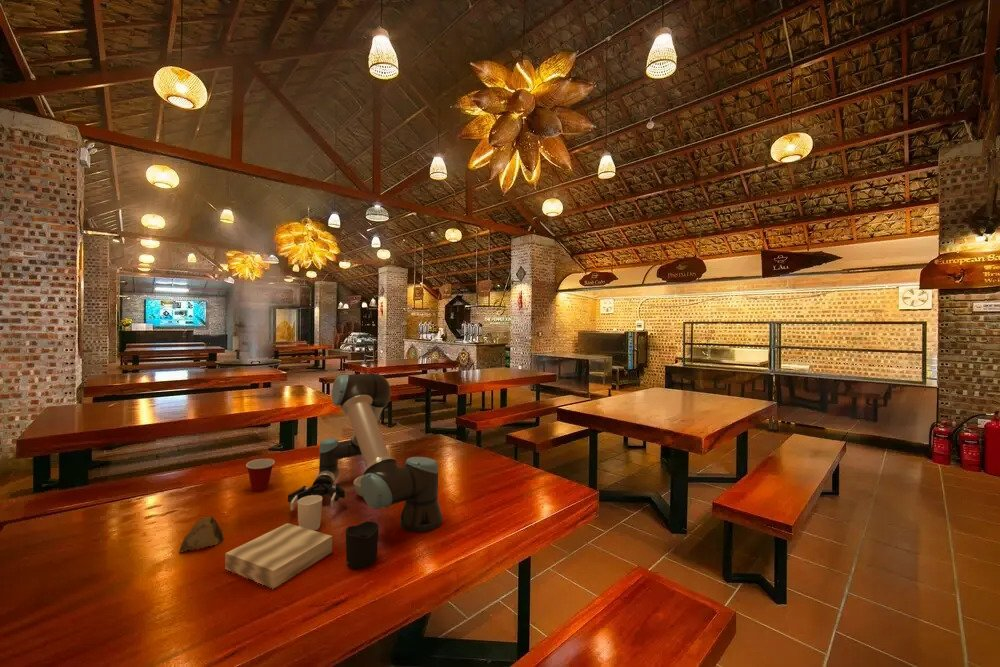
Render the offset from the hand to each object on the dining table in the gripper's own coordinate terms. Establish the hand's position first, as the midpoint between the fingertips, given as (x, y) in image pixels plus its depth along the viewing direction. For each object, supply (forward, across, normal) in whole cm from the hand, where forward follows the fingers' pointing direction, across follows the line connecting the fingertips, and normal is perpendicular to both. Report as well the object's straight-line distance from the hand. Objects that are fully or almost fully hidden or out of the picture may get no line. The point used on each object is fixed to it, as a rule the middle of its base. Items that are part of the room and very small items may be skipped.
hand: (311, 504), depth 144 cm
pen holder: (+30, -21, -6) cm, 37 cm away
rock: (+11, +30, -6) cm, 33 cm away
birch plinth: (+25, +3, -6) cm, 26 cm away
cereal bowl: (-20, -20, -6) cm, 29 cm away
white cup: (+5, 0, -6) cm, 8 cm away
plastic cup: (-35, +28, -6) cm, 45 cm away
